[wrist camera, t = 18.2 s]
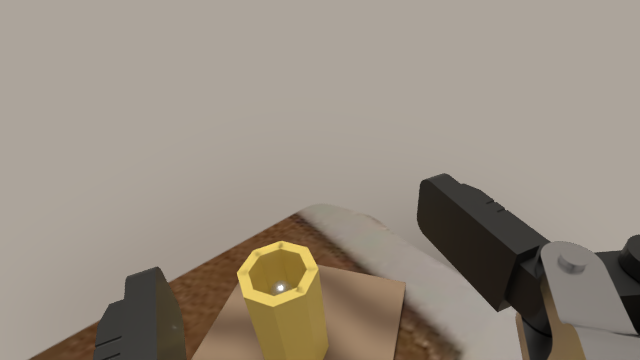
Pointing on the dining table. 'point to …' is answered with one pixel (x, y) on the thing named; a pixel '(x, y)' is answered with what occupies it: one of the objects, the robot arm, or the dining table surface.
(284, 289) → the steel post
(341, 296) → the board
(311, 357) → the yellow hollow tube
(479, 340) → the dining table surface
